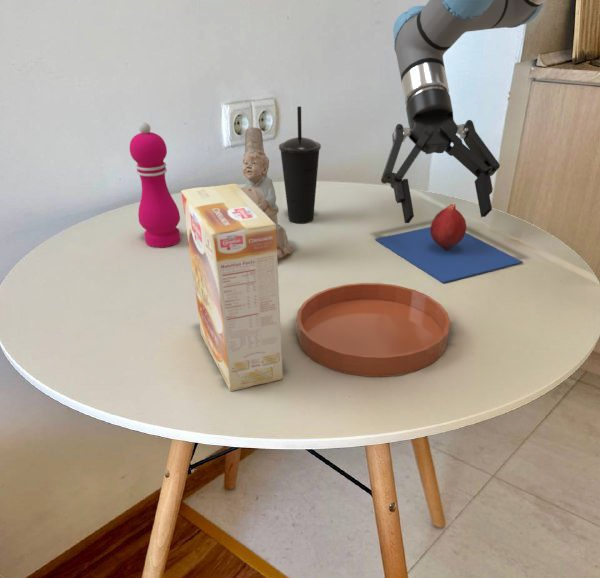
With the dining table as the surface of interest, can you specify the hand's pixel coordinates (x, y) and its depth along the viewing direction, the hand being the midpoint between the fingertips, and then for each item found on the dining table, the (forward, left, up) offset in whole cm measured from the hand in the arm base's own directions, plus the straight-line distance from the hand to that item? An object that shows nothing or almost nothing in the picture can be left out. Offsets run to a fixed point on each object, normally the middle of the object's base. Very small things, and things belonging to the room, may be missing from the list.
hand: (448, 216), depth 99 cm
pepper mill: (+27, +42, -6) cm, 51 cm away
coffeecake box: (-15, +44, -6) cm, 47 cm away
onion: (-1, 0, -6) cm, 6 cm away
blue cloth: (-1, 0, -6) cm, 6 cm away
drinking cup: (+25, +15, -6) cm, 30 cm away
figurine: (+12, +28, -6) cm, 31 cm away
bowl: (-19, +26, -6) cm, 33 cm away
